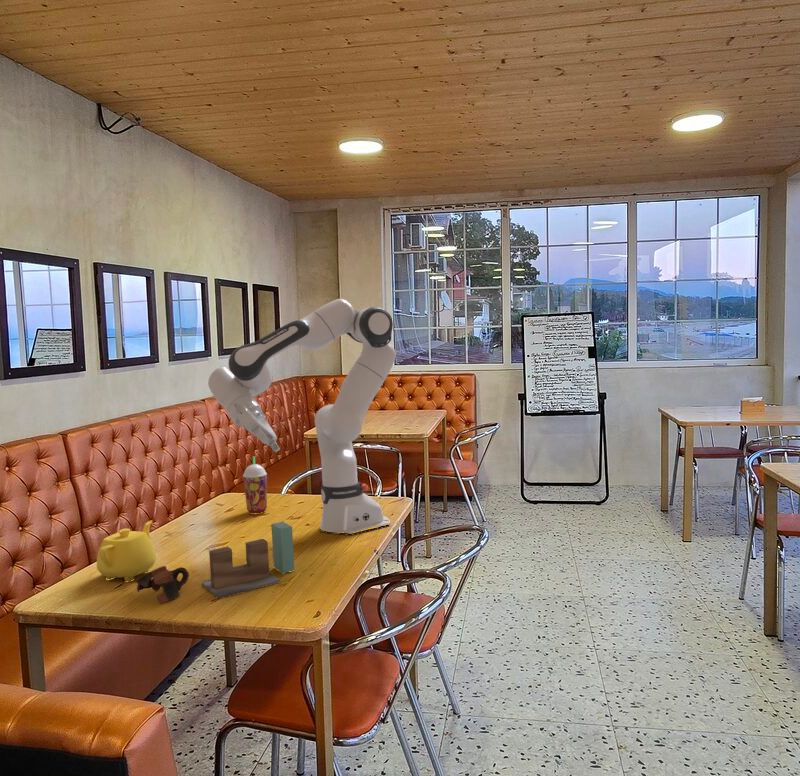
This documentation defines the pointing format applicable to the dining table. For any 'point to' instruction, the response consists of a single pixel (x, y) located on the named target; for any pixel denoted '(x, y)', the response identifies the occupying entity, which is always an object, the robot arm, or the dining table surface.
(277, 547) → the teal green rectangular block
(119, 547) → the teapot
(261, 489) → the smoothie
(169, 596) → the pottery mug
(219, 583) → the walnut slotted plate
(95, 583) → the dining table surface
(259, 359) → the robot arm
